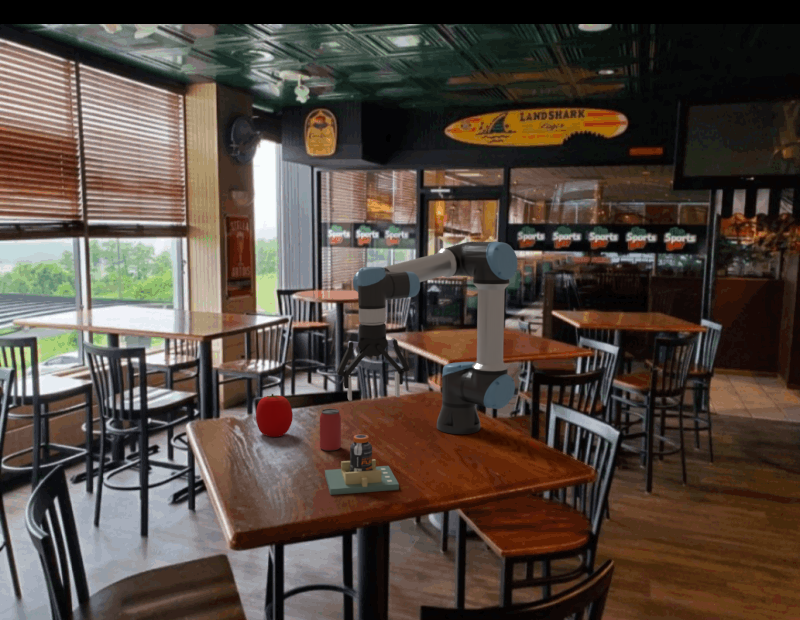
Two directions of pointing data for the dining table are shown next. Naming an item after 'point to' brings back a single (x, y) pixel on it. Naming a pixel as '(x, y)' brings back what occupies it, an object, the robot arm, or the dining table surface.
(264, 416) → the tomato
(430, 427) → the dining table surface
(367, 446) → the pill bottle
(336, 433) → the beer can
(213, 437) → the dining table surface
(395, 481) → the board
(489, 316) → the robot arm
